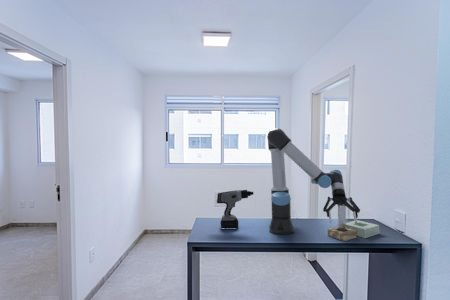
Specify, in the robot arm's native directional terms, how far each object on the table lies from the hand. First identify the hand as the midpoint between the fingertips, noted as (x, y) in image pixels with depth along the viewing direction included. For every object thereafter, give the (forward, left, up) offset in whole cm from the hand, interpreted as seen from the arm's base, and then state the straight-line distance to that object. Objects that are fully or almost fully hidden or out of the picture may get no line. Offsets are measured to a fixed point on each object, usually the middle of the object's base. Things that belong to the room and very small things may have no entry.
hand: (343, 222), depth 156 cm
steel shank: (-1, +1, -9) cm, 9 cm away
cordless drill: (-51, -40, -9) cm, 66 cm away
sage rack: (+1, +16, -9) cm, 18 cm away
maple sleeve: (-1, +1, -9) cm, 9 cm away
